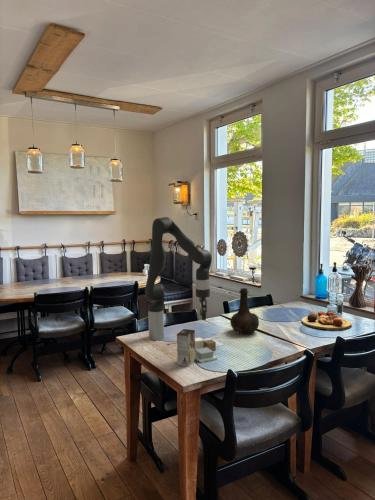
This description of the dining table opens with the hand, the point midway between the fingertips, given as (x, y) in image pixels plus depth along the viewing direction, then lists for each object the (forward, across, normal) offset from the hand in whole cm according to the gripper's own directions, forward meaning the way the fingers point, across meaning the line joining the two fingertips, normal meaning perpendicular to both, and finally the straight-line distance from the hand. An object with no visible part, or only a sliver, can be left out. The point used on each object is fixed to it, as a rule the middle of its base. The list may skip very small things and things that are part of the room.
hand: (203, 317), depth 202 cm
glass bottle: (+20, -35, +30) cm, 50 cm away
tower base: (+20, +6, 0) cm, 21 cm away
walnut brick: (+20, -5, +4) cm, 21 cm away
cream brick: (+20, -9, -2) cm, 22 cm away
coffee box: (+20, +11, -10) cm, 25 cm away
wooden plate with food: (+21, -47, +88) cm, 102 cm away
